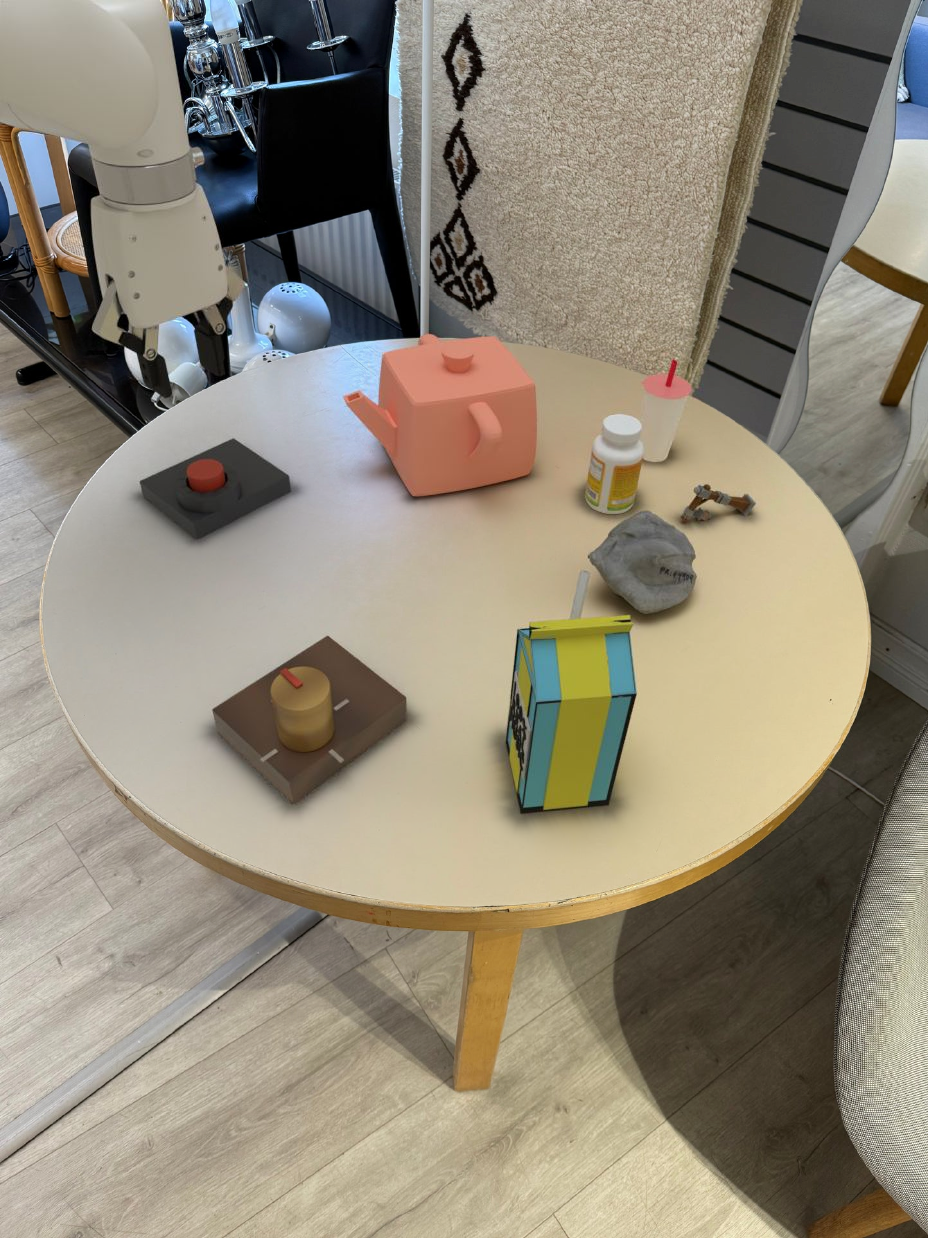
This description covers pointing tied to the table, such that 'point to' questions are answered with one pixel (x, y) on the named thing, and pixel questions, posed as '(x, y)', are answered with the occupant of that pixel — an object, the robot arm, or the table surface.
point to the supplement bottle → (615, 465)
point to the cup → (662, 412)
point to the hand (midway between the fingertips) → (186, 379)
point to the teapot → (453, 414)
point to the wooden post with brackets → (704, 492)
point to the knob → (303, 708)
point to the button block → (209, 511)
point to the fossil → (647, 562)
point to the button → (206, 475)
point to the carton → (570, 708)
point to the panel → (358, 714)
